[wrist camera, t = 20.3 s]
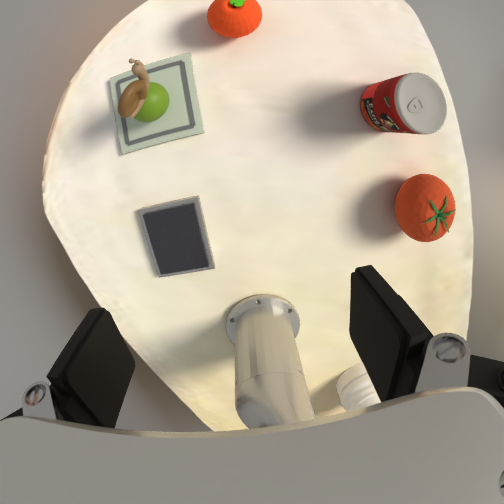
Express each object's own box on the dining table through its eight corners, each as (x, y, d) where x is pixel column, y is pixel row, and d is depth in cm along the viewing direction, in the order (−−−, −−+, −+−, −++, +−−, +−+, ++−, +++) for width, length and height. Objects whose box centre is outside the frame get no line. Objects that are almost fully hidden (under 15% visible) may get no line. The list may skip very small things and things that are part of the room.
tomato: (412, 156, 37) (452, 165, 27) (440, 201, 40) (477, 219, 30) (372, 199, 39) (405, 218, 30) (404, 241, 42) (436, 267, 33)
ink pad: (215, 265, 42) (214, 270, 41) (160, 274, 43) (158, 279, 41) (198, 195, 38) (197, 197, 37) (140, 208, 38) (137, 211, 37)
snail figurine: (183, 85, 31) (158, 64, 20) (164, 128, 33) (131, 125, 22) (148, 75, 30) (112, 53, 19) (130, 116, 32) (88, 112, 21)
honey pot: (389, 380, 57) (416, 436, 40) (341, 402, 59) (361, 461, 42) (384, 350, 52) (418, 413, 36) (330, 375, 54) (352, 443, 37)
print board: (204, 132, 35) (203, 132, 34) (124, 153, 35) (121, 154, 34) (190, 54, 30) (189, 52, 29) (111, 79, 30) (109, 78, 29)
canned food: (348, 105, 34) (385, 97, 23) (379, 73, 31) (420, 59, 21) (382, 142, 36) (425, 148, 26) (411, 110, 34) (455, 109, 24)
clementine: (229, -5, 26) (228, -28, 20) (272, 12, 28) (279, -9, 21) (200, 33, 29) (192, 14, 22) (244, 51, 30) (245, 34, 24)
